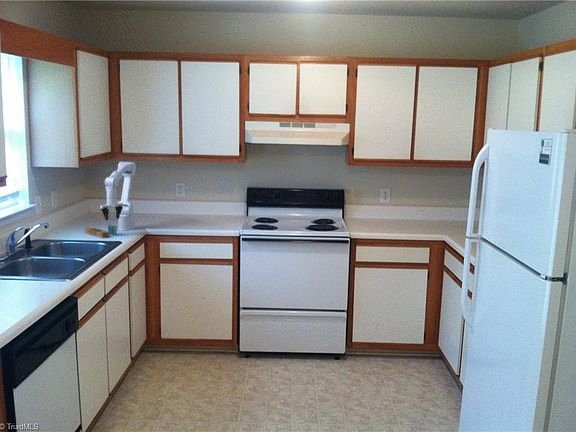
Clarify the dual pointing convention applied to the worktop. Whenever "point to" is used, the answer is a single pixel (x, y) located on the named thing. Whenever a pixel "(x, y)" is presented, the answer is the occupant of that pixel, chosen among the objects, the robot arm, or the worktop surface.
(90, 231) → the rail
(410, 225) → the worktop surface
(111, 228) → the clip
